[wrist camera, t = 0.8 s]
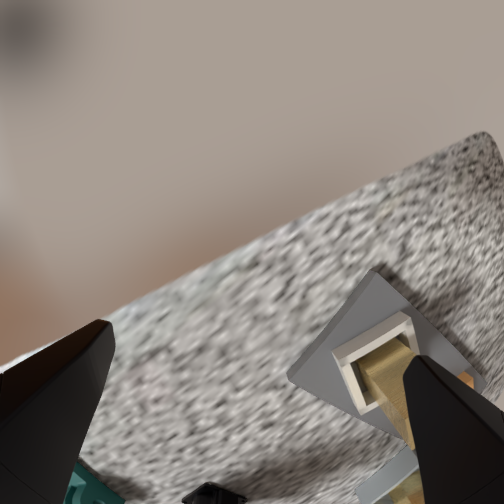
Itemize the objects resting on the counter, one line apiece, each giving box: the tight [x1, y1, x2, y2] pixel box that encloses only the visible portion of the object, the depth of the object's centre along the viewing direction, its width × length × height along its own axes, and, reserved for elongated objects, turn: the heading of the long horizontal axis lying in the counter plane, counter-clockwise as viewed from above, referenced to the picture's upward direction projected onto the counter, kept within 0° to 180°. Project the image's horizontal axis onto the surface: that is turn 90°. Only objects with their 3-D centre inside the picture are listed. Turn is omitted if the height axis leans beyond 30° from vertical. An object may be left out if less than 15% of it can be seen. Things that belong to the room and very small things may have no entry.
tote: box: [355, 445, 419, 504], centre depth 26 cm, size 10×10×4 cm
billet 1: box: [355, 337, 416, 450], centre depth 19 cm, size 4×4×10 cm
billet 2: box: [388, 470, 425, 504], centre depth 21 cm, size 4×4×10 cm
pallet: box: [286, 270, 488, 440], centre depth 24 cm, size 12×26×4 cm, turn 53°
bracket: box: [63, 462, 125, 504], centre depth 22 cm, size 18×7×8 cm, turn 34°
